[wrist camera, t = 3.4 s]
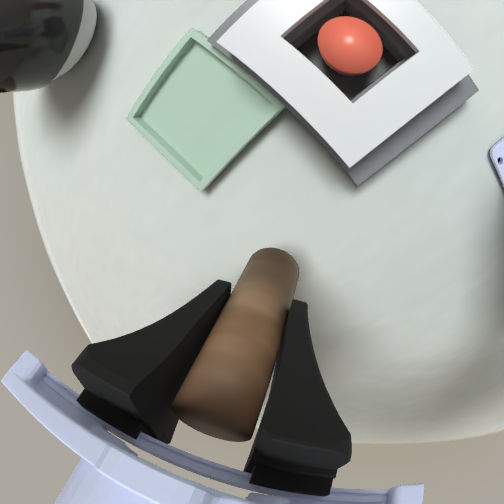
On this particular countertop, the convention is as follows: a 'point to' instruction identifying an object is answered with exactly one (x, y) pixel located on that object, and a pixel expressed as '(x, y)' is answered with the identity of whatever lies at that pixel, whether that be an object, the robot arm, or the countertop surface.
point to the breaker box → (371, 97)
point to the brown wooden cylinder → (240, 351)
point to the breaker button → (349, 45)
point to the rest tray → (201, 109)
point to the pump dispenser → (42, 40)
